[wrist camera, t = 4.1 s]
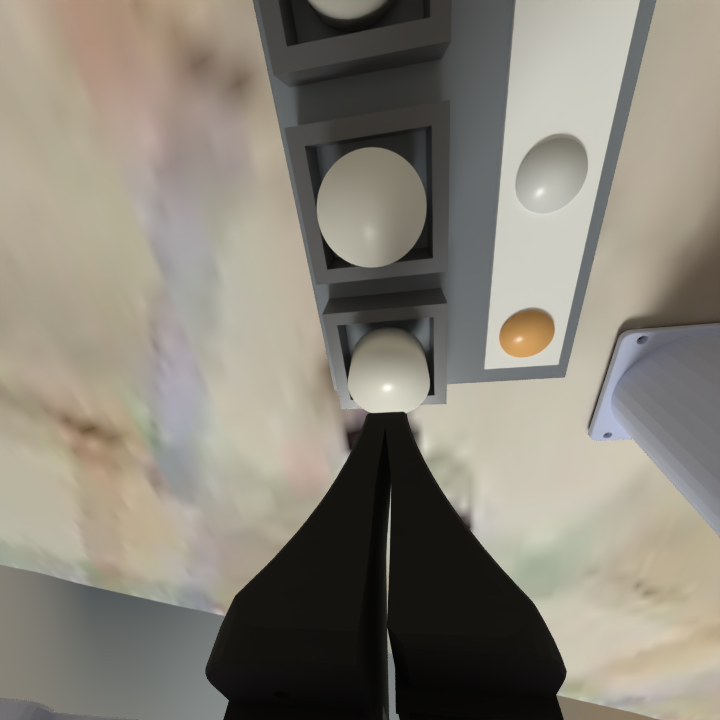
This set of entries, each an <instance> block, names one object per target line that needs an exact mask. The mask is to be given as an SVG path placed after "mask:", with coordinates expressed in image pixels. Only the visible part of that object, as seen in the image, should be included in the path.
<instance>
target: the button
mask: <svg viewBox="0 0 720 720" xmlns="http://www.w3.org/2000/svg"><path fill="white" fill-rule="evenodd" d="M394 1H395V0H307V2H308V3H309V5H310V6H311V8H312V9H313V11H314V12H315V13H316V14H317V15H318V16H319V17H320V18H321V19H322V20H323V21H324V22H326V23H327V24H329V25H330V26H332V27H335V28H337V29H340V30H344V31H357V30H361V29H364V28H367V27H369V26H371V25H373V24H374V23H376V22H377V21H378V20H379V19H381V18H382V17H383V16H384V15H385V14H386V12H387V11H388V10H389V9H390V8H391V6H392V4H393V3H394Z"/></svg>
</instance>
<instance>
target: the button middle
mask: <svg viewBox="0 0 720 720" xmlns="http://www.w3.org/2000/svg"><path fill="white" fill-rule="evenodd" d="M426 208H427V204H426V195H425V191H424V187H423V184H422V182H421V180H420V178H419V176H418V174H417V172H416V171H415V169H414V168H413V167H412V166H411V165H410V163H409V162H408V161H406V160H405V159H404V158H403V157H401V156H400V155H398V154H396V153H395V152H392V151H390V150H387V149H383V148H376V147H368V148H361V149H357V150H355V151H352V152H350V153H348V154H346V155H344V156H343V157H342V158H340V159H339V160H338V161H337V162H336V163H335V164H334V165H333V166H332V167H331V168H330V169H329V171H328V172H327V174H326V175H325V177H324V179H323V181H322V184H321V186H320V189H319V193H318V199H317V217H318V223H319V227H320V230H321V232H322V235H323V237H324V239H325V241H326V242H327V243H328V245H329V246H330V248H331V249H332V250H333V251H334V252H335V253H336V254H337V255H338V256H339V257H341V258H342V259H344V260H345V261H347V262H349V263H351V264H354V265H357V266H361V267H369V268H373V267H381V266H385V265H389V264H391V263H393V262H395V261H397V260H399V259H400V258H402V257H403V256H404V255H405V254H407V253H408V252H409V251H410V249H411V248H412V247H413V246H414V244H415V243H416V242H417V240H418V238H419V236H420V234H421V232H422V230H423V227H424V223H425V218H426Z"/></svg>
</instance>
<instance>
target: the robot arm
mask: <svg viewBox="0 0 720 720" xmlns="http://www.w3.org/2000/svg"><path fill="white" fill-rule="evenodd" d="M641 336H643V337H642V339H640V340H638V338H640V337H641ZM637 340H638V341H637ZM588 435H589V436H590V438H591V439H592V440H596V441H600V440H630V439H633V440H634V441H635V442H636V443H637V444H638V445H639V447H640V448H641V449H642V450H643V451H644V452H645V453H646V455H647V456H648V457H649V458H650V459H651V460H652V461H653V463H654V464H655V465H656V466H657V467H658V468H659V469H660V470H661V472H662V473H663V474H664V475H665V476H666V477H667V478H668V480H669V481H670V482H671V483H672V484H673V485H674V486H675V487H676V489H677V490H678V491H679V492H680V493H681V494H682V495H683V497H684V498H685V499H686V500H687V501H688V502H689V503H690V504H691V506H692V507H693V508H694V509H695V510H696V511H697V512H698V514H699V515H700V516H701V517H702V518H703V519H704V520H705V521H706V523H707V524H708V525H709V526H710V527H711V528H712V529H713V531H714V532H715V533H716V534H717V535H718V536H719V537H720V323H713V324H699V325H686V326H672V327H659V328H645V329H632V330H627V331H625V332H623V333H622V334H621V335H620V336H619V338H618V341H617V344H616V347H615V350H614V353H613V356H612V360H611V363H610V366H609V369H608V372H607V375H606V378H605V381H604V384H603V388H602V391H601V394H600V397H599V400H598V403H597V406H596V409H595V412H594V416H593V419H592V422H591V425H590V428H589V431H588ZM390 492H391V531H390V566H389V591H388V614H387V589H386V549H387V532H388V519H389V506H390ZM387 628H388V633H389V638H390V644H391V649H392V654H393V659H394V664H395V681H396V682H395V686H396V687H395V690H396V714H399V719H400V720H563V716H562V713H561V709H560V706H559V703H558V700H557V697H556V694H557V692H558V691H559V689H560V687H561V686H562V684H563V682H564V680H565V678H566V672H567V671H566V668H565V665H564V662H563V659H562V657H561V655H560V652H559V650H558V648H557V646H556V643H555V641H554V639H553V637H552V635H551V633H550V631H549V629H548V627H547V625H546V623H545V622H544V620H543V618H542V616H541V615H540V613H539V611H538V609H537V608H536V606H535V604H534V603H533V602H532V601H531V599H530V598H529V597H528V596H527V595H526V594H525V593H524V592H523V591H522V590H521V589H520V588H519V587H518V586H517V585H516V584H515V583H514V581H513V580H512V579H511V578H510V577H509V576H508V575H507V574H506V573H505V572H504V571H503V569H502V568H501V567H500V566H499V565H498V564H497V563H496V561H495V560H494V559H493V558H492V557H491V556H490V554H489V553H488V552H487V551H486V550H485V549H484V547H483V546H482V545H481V544H480V542H479V541H478V540H477V538H476V537H475V536H474V535H473V533H472V532H471V531H470V530H469V528H468V527H467V526H466V525H465V523H464V522H463V521H462V519H461V518H460V517H459V515H458V514H457V512H456V511H455V510H454V508H453V507H452V505H451V504H450V502H449V501H448V499H447V498H446V496H445V495H444V493H443V492H442V490H441V489H440V487H439V485H438V484H437V482H436V480H435V479H434V477H433V475H432V473H431V472H430V470H429V468H428V466H427V464H426V463H425V461H424V459H423V457H422V455H421V453H420V450H419V448H418V446H417V444H416V442H415V439H414V437H413V434H412V432H411V429H410V426H409V423H408V419H407V414H406V413H405V412H383V413H369V414H368V415H367V416H366V419H365V422H364V424H363V427H362V430H361V432H360V434H359V437H358V439H357V441H356V443H355V445H354V447H353V449H352V451H351V453H350V455H349V457H348V459H347V461H346V463H345V464H344V466H343V468H342V469H341V471H340V473H339V475H338V476H337V478H336V480H335V481H334V483H333V484H332V486H331V487H330V489H329V491H328V492H327V494H326V495H325V496H324V498H323V499H322V501H321V502H320V503H319V505H318V506H317V508H316V509H315V510H314V511H313V513H312V514H311V515H310V517H309V518H308V519H307V521H306V522H305V523H304V524H303V526H302V527H301V528H300V529H299V530H298V532H297V533H296V534H295V535H294V536H293V537H292V538H291V539H290V541H289V542H288V543H287V544H286V545H285V546H284V547H283V548H282V549H281V551H280V552H279V553H278V554H277V555H276V556H275V557H274V558H273V559H272V560H271V561H270V562H269V563H268V564H267V566H265V567H264V568H263V569H262V570H261V571H260V572H259V573H258V574H257V575H256V576H255V577H254V578H253V579H252V580H251V581H250V582H249V583H248V584H247V585H246V586H245V587H244V588H243V589H242V590H241V591H240V592H239V593H238V594H237V595H236V596H235V597H234V599H233V601H232V603H231V606H230V608H229V610H228V612H227V614H226V616H225V619H224V621H223V623H222V625H221V627H220V630H219V633H218V635H217V638H216V641H215V644H214V647H213V649H212V652H211V655H210V658H209V660H208V663H207V666H206V676H207V679H208V680H209V682H210V683H211V684H212V685H213V686H214V687H215V688H216V689H217V690H218V691H220V692H221V693H222V694H223V695H224V696H225V697H226V698H227V699H228V700H229V703H228V706H227V709H226V713H225V716H224V719H223V720H389V695H388V654H387V653H388V650H387ZM0 720H135V719H125V718H113V717H101V716H89V715H78V714H66V713H55V712H54V710H53V709H51V708H50V707H48V706H45V705H43V704H40V703H37V702H33V701H27V700H18V699H6V698H0ZM136 720H137V719H136Z"/></svg>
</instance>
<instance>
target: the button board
mask: <svg viewBox="0 0 720 720" xmlns="http://www.w3.org/2000/svg"><path fill="white" fill-rule="evenodd" d="M253 3H254V8H255V12H256V17H257V22H258V27H259V32H260V36H261V41H262V46H263V51H264V55H265V60H266V65H267V70H268V75H269V79H270V84H271V89H272V94H273V98H274V103H275V108H276V113H277V118H278V122H279V127H280V132H281V137H282V141H283V146H284V151H285V156H286V161H287V165H288V170H289V175H290V180H291V184H292V189H293V194H294V199H295V204H296V208H297V213H298V218H299V223H300V227H301V232H302V237H303V242H304V247H305V251H306V256H307V261H308V266H309V270H310V275H311V280H312V285H313V290H314V294H315V299H316V304H317V309H318V314H319V318H320V323H321V328H322V333H323V337H324V342H325V347H326V352H327V357H328V361H329V366H330V371H331V376H332V380H333V385H334V390H335V391H337V390H338V395H339V400H340V405H341V409H353V408H362V407H360V406H359V405H358V404H357V403H356V402H355V401H354V400H353V398H352V396H351V394H350V392H349V389H348V376H349V371H350V366H351V360H352V355H353V350H354V347H355V345H356V343H357V342H358V340H359V339H360V338H361V337H362V336H363V335H364V334H366V333H367V332H369V331H371V330H373V329H375V328H379V327H385V326H392V327H398V328H402V329H405V330H407V331H409V332H410V333H412V334H413V335H415V336H416V337H417V338H418V340H419V341H420V342H421V344H422V346H423V348H424V352H425V357H426V362H427V367H428V373H429V378H430V388H429V392H428V394H427V396H426V398H425V400H424V401H423V402H422V403H421V404H420V405H433V404H446V388H447V384H458V383H475V382H492V381H509V380H526V379H544V378H561V377H565V375H566V371H567V367H568V362H569V358H570V354H571V350H572V346H573V342H574V338H575V334H576V329H577V325H578V321H579V317H580V313H581V309H582V305H583V301H584V296H585V292H586V288H587V284H588V280H589V276H590V272H591V267H592V263H593V259H594V255H595V251H596V247H597V243H598V239H599V234H600V230H601V226H602V222H603V218H604V214H605V210H606V206H607V201H608V197H609V193H610V189H611V185H612V181H613V177H614V173H615V168H616V164H617V160H618V156H619V152H620V148H621V144H622V140H623V135H624V131H625V127H626V123H627V119H628V115H629V111H630V107H631V102H632V98H633V94H634V90H635V86H636V82H637V78H638V74H639V69H640V65H641V61H642V57H643V53H644V49H645V45H646V41H647V36H648V32H649V28H650V24H651V20H652V16H653V12H654V8H655V3H656V0H395V1H394V3H393V4H392V6H391V8H390V9H389V10H388V11H387V12H386V14H385V15H384V16H383V17H382V18H381V19H379V20H378V21H377V22H376V23H374V24H373V25H371V26H369V27H367V28H364V29H361V30H357V31H344V30H340V29H337V28H335V27H332V26H330V25H329V24H327V23H326V22H324V21H323V20H322V19H321V18H320V17H319V16H318V15H317V14H316V13H315V12H314V11H313V9H312V8H311V6H310V5H309V3H308V2H307V0H253ZM368 147H376V148H383V149H387V150H390V151H392V152H395V153H396V154H398V155H400V156H401V157H403V158H404V159H405V160H406V161H408V162H409V163H410V165H411V166H412V167H413V168H414V169H415V171H416V172H417V174H418V176H419V178H420V180H421V182H422V184H423V187H424V191H425V195H426V204H427V208H426V218H425V223H424V227H423V230H422V232H421V234H420V236H419V238H418V240H417V242H416V243H415V244H414V246H413V247H412V248H411V249H410V251H409V252H408V253H407V254H405V255H404V256H403V257H402V258H400V259H399V260H397V261H395V262H393V263H391V264H389V265H385V266H381V267H373V268H369V267H361V266H357V265H354V264H351V263H349V262H347V261H345V260H344V259H342V258H341V257H339V256H338V255H337V254H336V253H335V252H334V251H333V250H332V249H331V248H330V246H329V245H328V243H327V242H326V241H325V239H324V237H323V235H322V232H321V230H320V227H319V223H318V217H317V199H318V193H319V189H320V186H321V184H322V181H323V179H324V177H325V175H326V174H327V172H328V171H329V169H330V168H331V167H332V166H333V165H334V164H335V163H336V162H337V161H338V160H339V159H340V158H342V157H343V156H344V155H346V154H348V153H350V152H352V151H355V150H357V149H361V148H368Z"/></svg>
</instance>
